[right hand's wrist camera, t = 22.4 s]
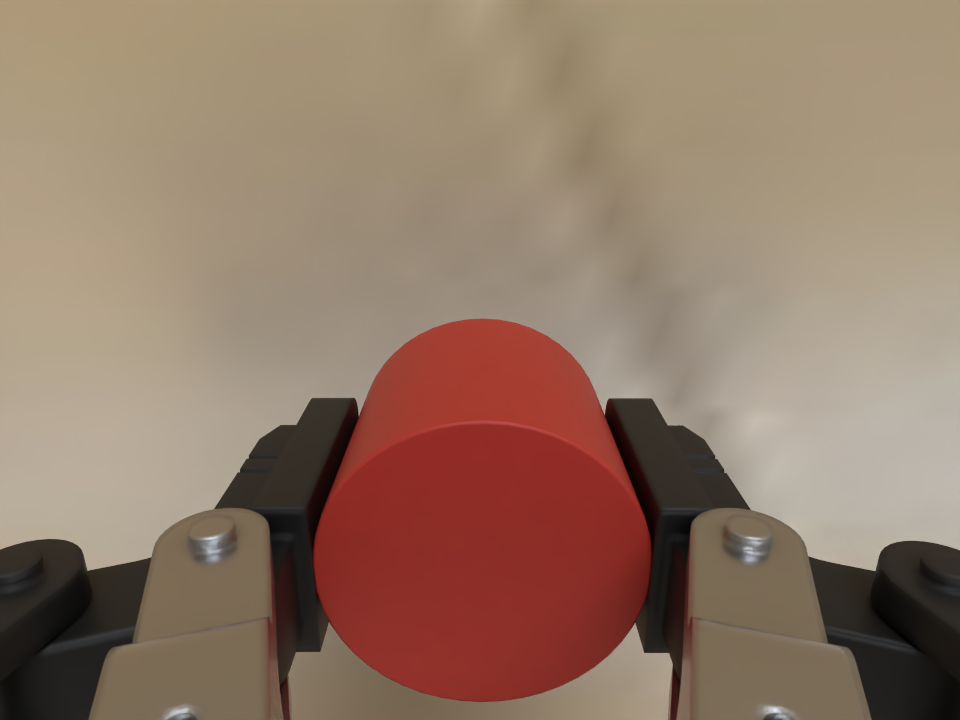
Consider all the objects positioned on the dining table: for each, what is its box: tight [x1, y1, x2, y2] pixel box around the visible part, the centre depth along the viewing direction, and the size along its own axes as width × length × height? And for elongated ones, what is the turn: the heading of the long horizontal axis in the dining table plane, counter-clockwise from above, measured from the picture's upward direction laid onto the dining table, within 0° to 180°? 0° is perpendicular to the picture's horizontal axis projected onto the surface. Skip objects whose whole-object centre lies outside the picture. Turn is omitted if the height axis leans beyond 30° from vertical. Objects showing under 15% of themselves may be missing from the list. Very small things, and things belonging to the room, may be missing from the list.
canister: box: [313, 319, 652, 702], centre depth 11 cm, size 4×4×4 cm
